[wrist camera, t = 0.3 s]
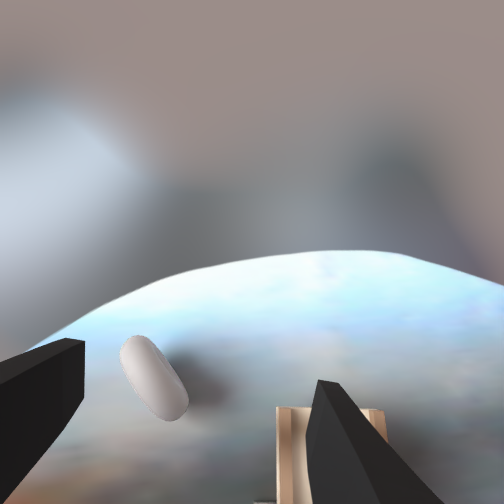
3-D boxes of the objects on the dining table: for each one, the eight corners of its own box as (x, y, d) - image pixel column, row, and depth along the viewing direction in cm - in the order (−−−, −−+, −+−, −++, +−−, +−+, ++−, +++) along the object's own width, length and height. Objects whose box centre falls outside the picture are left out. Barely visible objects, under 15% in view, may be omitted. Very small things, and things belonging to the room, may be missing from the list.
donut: (132, 359, 38) (99, 338, 29) (156, 342, 39) (131, 316, 30) (175, 430, 34) (152, 429, 25) (200, 408, 35) (186, 400, 27)
